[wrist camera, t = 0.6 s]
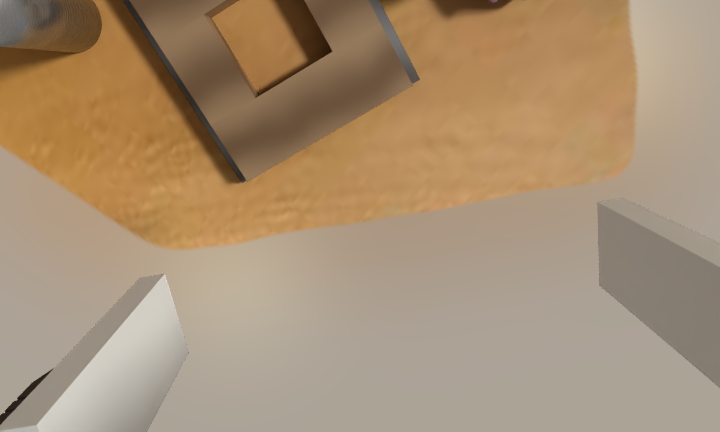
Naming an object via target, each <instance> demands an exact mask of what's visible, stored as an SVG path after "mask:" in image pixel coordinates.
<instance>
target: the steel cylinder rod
mask: <svg viewBox="0 0 720 432" xmlns="http://www.w3.org/2000/svg"><path fill="white" fill-rule="evenodd" d="M101 27H102V22H101V16H100V13H99V10H98V8H97V6H96V5H95V3H94V2H93V1H92V0H0V47H10V48H23V49H35V50H47V51H60V52H72V53H78V52H83V51H86V50H88V49H90V48H91V47H92V46H93V45H94V44H95V43H96V42H97V40H98V38H99V36H100V33H101Z"/></svg>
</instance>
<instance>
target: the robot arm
mask: <svg viewBox="0 0 720 432" xmlns="http://www.w3.org/2000/svg"><path fill="white" fill-rule="evenodd" d="M597 204H598V246H599V284H600V286H601V287H602V288H603V289H604V290H605V291H607V292H608V293H609V294H610V295H611V296H612V297H614V298H615V299H616V300H617V301H618V302H620V303H621V304H622V305H623V306H624V307H626V308H627V309H628V310H629V311H630V312H631V313H632V314H634V315H635V316H636V317H637V318H638V319H639V320H641V321H642V322H643V323H644V324H645V325H646V326H648V327H649V328H650V329H651V330H652V331H654V332H655V333H656V334H657V335H658V336H660V337H661V338H662V339H663V340H664V341H665V342H666V343H668V344H669V345H670V346H671V347H672V348H674V349H675V350H676V351H677V352H678V353H679V354H681V355H682V356H683V357H684V358H685V359H687V360H688V361H689V362H690V363H691V364H692V365H694V366H695V367H696V368H697V369H698V370H699V371H701V372H702V373H703V374H704V375H705V376H707V377H708V378H709V379H710V380H711V381H712V382H713V383H715V384H716V385H717V386H718V387H719V388H720V243H719V242H717V241H714V240H712V239H710V238H708V237H706V236H704V235H701V234H699V233H697V232H695V231H693V230H691V229H689V228H687V227H685V226H682V225H680V224H678V223H676V222H674V221H672V220H669V219H667V218H665V217H663V216H661V215H659V214H657V213H655V212H652V211H650V210H648V209H646V208H644V207H642V206H640V205H637V204H635V203H633V202H631V201H629V200H627V199H625V198H619V199H612V200H606V201H600V202H598V203H597ZM188 353H189V352H188V349H187V346H186V342H185V339H184V336H183V332H182V329H181V326H180V322H179V319H178V316H177V312H176V309H175V306H174V302H173V299H172V296H171V292H170V289H169V286H168V282H167V279H166V276H165V274H160V275H154V276H148V277H142V278H139V279H138V280H137V282H136V283H135V284H134V285H133V286H132V287H131V288H130V289H129V290H128V291H127V292H126V293H125V294H124V295H123V296H122V297H121V298H120V299H119V300H118V302H117V303H116V304H115V305H114V306H113V307H112V308H111V309H110V310H109V311H108V312H107V313H106V314H105V315H104V316H103V317H102V318H101V320H100V321H99V322H98V323H97V324H96V325H95V326H94V327H93V328H92V329H91V330H90V331H89V332H88V333H87V334H86V335H85V336H84V337H83V338H82V340H81V341H80V342H79V343H78V344H77V345H76V346H75V347H74V348H73V349H72V350H71V351H70V352H69V353H68V354H67V356H65V358H63V359H62V361H61V362H60V363H59V364H58V365H57V366H56V367H55V368H54V369H52V370H50V371H49V372H47V373H46V374H44V375H43V376H41V377H40V378H39V379H37V380H36V381H34V382H33V383H32V384H31V385H30V386H29V387H28V388H27V389H26V390H25V391H24V392H23V393H22V394H21V395H20V396H19V397H18V398H17V399H18V400H17V401H14V402H13V403H12V404H11V405H10V406H9V407H8V408H7V409H6V410H5V413H3V414H1V415H0V432H147V430H148V429H149V427H150V425H151V423H152V421H153V419H154V417H155V415H156V413H157V412H158V410H159V408H160V406H161V404H162V402H163V400H164V398H165V396H166V395H167V393H168V391H169V389H170V387H171V385H172V383H173V382H174V380H175V378H176V376H177V374H178V372H179V370H180V368H181V366H182V364H183V362H184V361H185V359H186V357H187V355H188Z"/></svg>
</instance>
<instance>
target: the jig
mask: <svg viewBox="0 0 720 432" xmlns="http://www.w3.org/2000/svg"><path fill="white" fill-rule="evenodd" d="M237 1H239V0H123V2H124V3H125V5H126V6H127V8H128V9H129V11H130V12H131V14H132V16H133V17H134V19H135V20H136V22H137V23H138V25H139V26H140V28H141V29H142V31H143V32H144V34H145V35H146V37H147V38H148V40H149V42H150V43H151V45H152V46H153V48H154V49H155V51H156V52H157V54H158V55H159V57H160V58H161V60H162V61H163V63H164V64H165V66H166V68H167V69H168V71H169V72H170V74H171V75H172V77H173V78H174V80H175V81H176V83H177V84H178V86H179V87H180V89H181V90H182V92H183V94H184V95H185V97H186V98H187V100H188V101H189V103H190V104H191V106H192V107H193V109H194V110H195V112H196V113H197V115H198V116H199V118H200V119H201V121H202V123H203V124H204V126H205V127H206V129H207V130H208V132H209V133H210V135H211V136H212V138H213V139H214V141H215V142H216V144H217V145H218V147H219V149H220V150H221V152H222V153H223V155H224V156H225V158H226V159H227V161H228V162H229V164H230V165H231V167H232V168H233V170H234V171H235V173H236V175H237V176H238V178H239V179H240V181H241V182H242V183H243V182H245V181H247V182H248V181H250V180H251V179H253V178H255V177H257V176H258V175H260V174H262V173H263V172H265V171H267V170H269V169H270V168H272V167H274V166H275V165H277V164H279V163H281V162H282V161H284V160H286V159H287V158H289V157H291V156H293V155H294V154H296V153H298V152H299V151H301V150H303V149H305V148H306V147H308V146H310V145H311V144H313V143H315V142H317V141H318V140H320V139H322V138H323V137H325V136H327V135H329V134H330V133H332V132H334V131H335V130H337V129H339V128H341V127H342V126H344V125H346V124H347V123H349V122H351V121H353V120H354V119H356V118H358V117H359V116H361V115H363V114H365V113H366V112H368V111H370V110H371V109H373V108H375V107H377V106H378V105H380V104H382V103H383V102H385V101H387V100H389V99H390V98H392V97H394V96H395V95H397V94H399V93H401V92H402V91H404V90H406V89H407V88H409V87H411V86H413V85H412V84H413V83H415V82H416V81H418V80H420V79H419V77H418V75H417V73H416V71H415V69H414V67H413V65H412V63H411V61H410V59H409V57H408V55H407V53H406V51H405V50H404V48H403V46H402V44H401V42H400V40H399V38H398V36H397V34H396V32H395V30H394V28H393V26H392V24H391V23H390V21H389V19H388V17H387V15H386V13H385V11H384V9H383V7H382V5H381V3H380V1H379V0H304V1H305V3H306V5H307V6H308V8H309V10H310V12H311V14H312V15H313V17H314V19H315V21H316V23H317V24H318V26H319V28H320V30H321V32H322V33H323V35H324V37H325V39H326V40H327V42H328V44H329V46H330V48H331V49H332V51H333V52H331V53H329V54H328V55H326V56H325V57H323V58H321V59H320V60H318V61H316V62H315V63H313V64H311V65H310V66H308V67H306V68H305V69H303V70H301V71H300V72H298V73H296V74H295V75H293V76H291V77H290V78H288V79H286V80H285V81H283V82H281V83H280V84H278V85H277V86H275V87H273V88H272V89H270V90H268V91H267V92H265V93H263V94H262V95H260V96H259V95H258V93H257V92H256V90H255V88H254V87H253V85H252V84H251V82H250V80H249V79H248V77H247V75H246V74H245V72H244V70H243V69H242V67H241V66H240V64H239V62H238V61H237V59H236V57H235V56H234V54H233V53H232V51H231V49H230V48H229V46H228V44H227V43H226V41H225V39H224V38H223V36H222V35H221V33H220V31H219V30H218V28H217V26H216V25H215V23H214V21H213V20H212V17H213V16H215V15H216V14H218V13H220V12H221V11H223V10H224V9H226V8H227V7H229V6H231V5H232V4H234V3H235V2H237Z"/></svg>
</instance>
